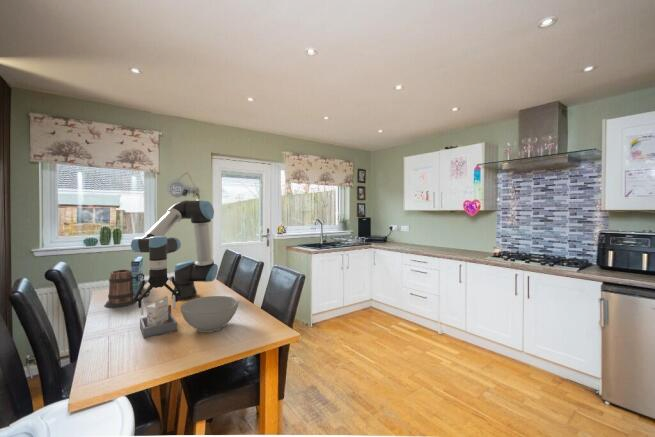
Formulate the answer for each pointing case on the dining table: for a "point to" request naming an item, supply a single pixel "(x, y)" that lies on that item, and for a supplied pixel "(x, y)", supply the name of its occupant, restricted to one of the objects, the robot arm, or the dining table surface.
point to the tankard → (121, 289)
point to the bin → (158, 327)
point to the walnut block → (169, 308)
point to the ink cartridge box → (158, 312)
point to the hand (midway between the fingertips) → (158, 311)
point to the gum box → (137, 272)
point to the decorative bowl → (209, 312)
